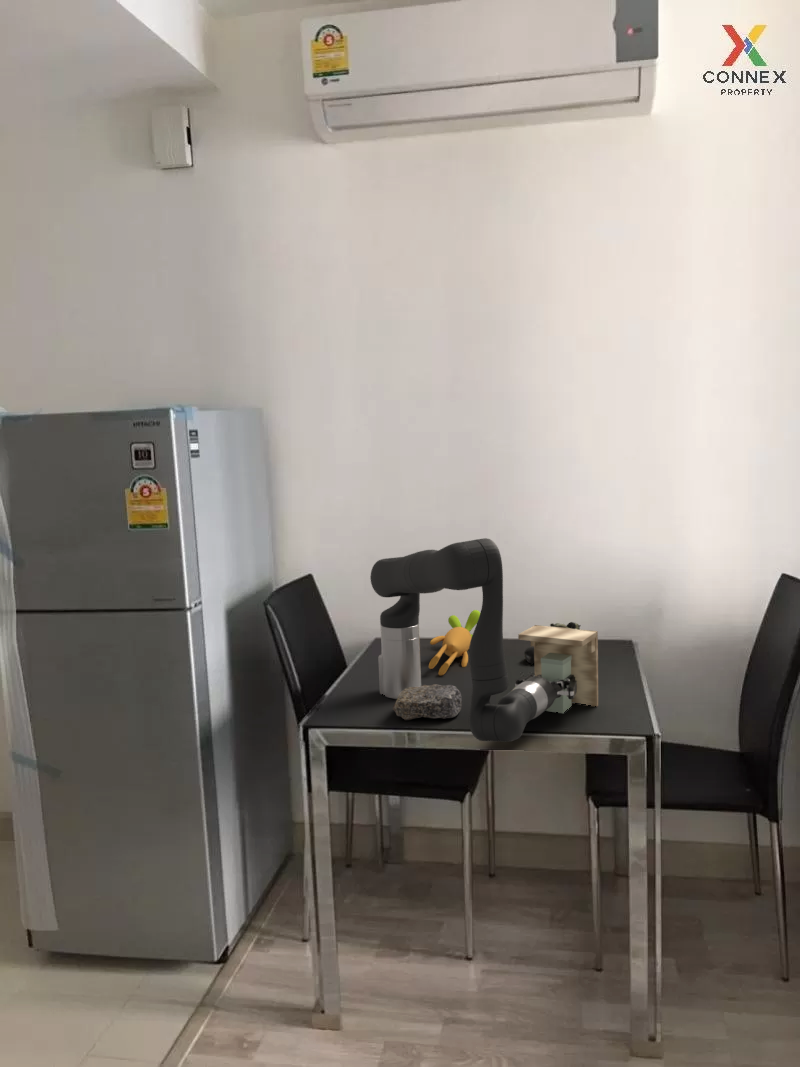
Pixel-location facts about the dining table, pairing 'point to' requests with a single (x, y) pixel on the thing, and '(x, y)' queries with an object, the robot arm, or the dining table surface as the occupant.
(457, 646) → the toy
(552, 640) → the shelf
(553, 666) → the tin
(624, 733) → the dining table surface
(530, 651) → the hiking shoe
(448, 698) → the rock
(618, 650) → the dining table surface
